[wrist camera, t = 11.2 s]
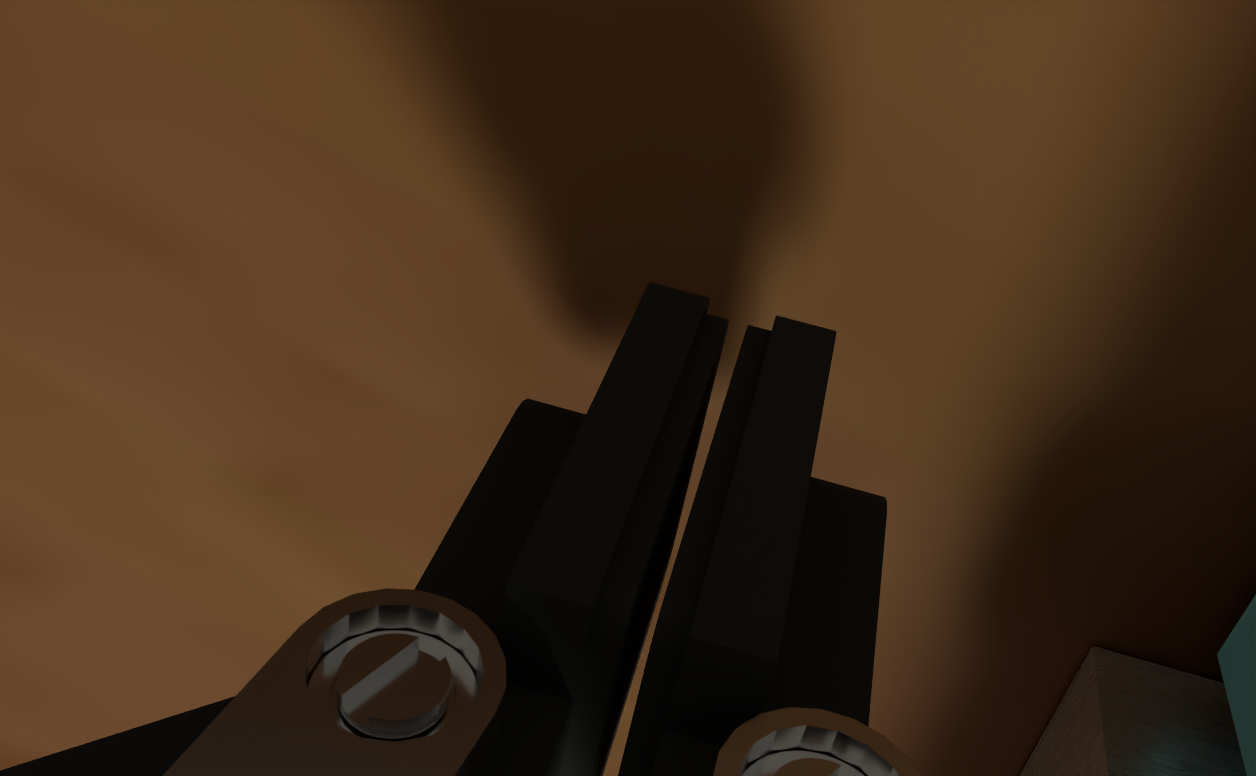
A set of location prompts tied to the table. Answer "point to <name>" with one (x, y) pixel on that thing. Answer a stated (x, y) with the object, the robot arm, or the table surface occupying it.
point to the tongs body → (1138, 724)
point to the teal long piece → (1242, 682)
